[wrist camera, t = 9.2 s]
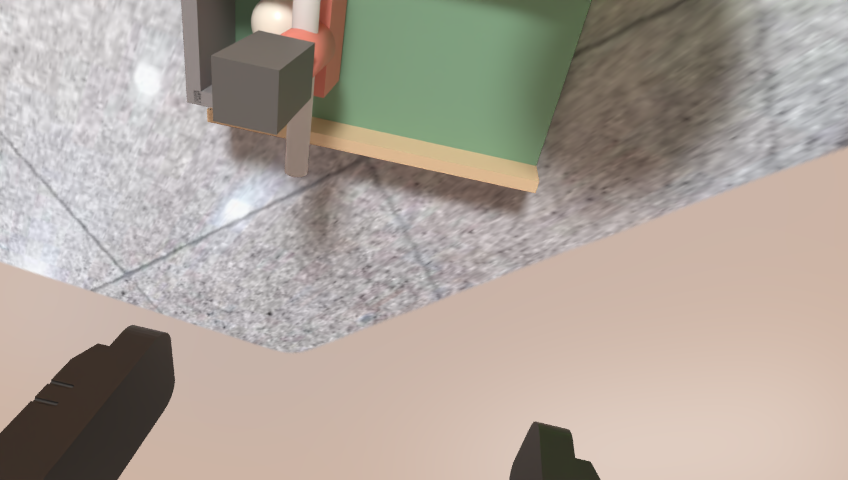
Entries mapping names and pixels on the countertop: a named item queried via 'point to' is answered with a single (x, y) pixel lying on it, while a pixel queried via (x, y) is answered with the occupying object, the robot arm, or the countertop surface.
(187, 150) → the countertop surface
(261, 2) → the ball
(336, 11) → the striker
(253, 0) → the pitch
